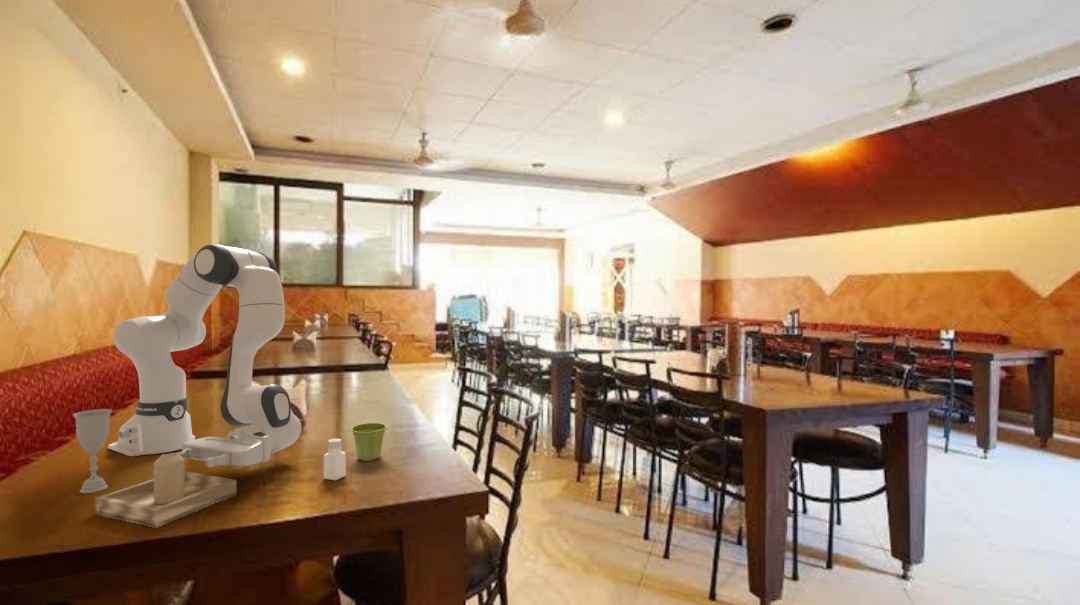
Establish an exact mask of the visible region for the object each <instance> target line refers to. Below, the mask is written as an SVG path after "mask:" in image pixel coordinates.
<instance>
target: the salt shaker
mask: <svg viewBox="0 0 1080 605" xmlns="http://www.w3.org/2000/svg"><path fill="white" fill-rule="evenodd" d="M342 441H343V440H342V439H341V438H330V439H328V440H327V449H328V451H327V452H326V453H325V454H324V455H323V478H324V480H330V481H331V480H332V481H338V480H340V479H342V478H344V477H345V476H346V474H347V472H346V470H347V464H346V463H347V461H346V460H347V459H346V458H347V456H346V455H347V453H346V452H345V451H342V447H343V446H342Z"/></svg>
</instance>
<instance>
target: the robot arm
mask: <svg viewBox="0 0 1080 605" xmlns="http://www.w3.org/2000/svg"><path fill="white" fill-rule="evenodd" d="M223 286H225V287H226V286H227V287H231V288H235V289H236V290H237V292H238V296H239V297H238V299H239V300H238V320H237V326H236V329H235V331H234V333H233V335H232V337H231V340H230V346H229V352H228V353H229V354H228V361H227V362H228V363H227V371H226V382H225V383H226V384H225V387H224V392H223V395H222V398H221V401H220V413H221V415H222V418H223V420H225V421H226V423H228V424H229V425H231V426H233V427H236V428H234V429H232V430H230V431H229V432H228V433H227V435H226V437H218V436H206V437H200V438H197V439H196V435H194V434H193V431H192V430H193V429H192V421H191V414H190V413H189V412H188V411H187V410H188V409H189V401H188V397H187V383H186V382H187V375H186V372H185V370H184V369H183V368H182V367H180V366H178V365H176V364H175V362H174V360H173V359H172V355H171V352H178V351H186V350H188V349H190V348H193V347H197V346H199V345H201V344H202V343H203V341H204V340H205V338H206V335H207V327H206V324H205V323H204V321H203V319H204V316H205V313H206V311H207V310H208V308H209V306H210V305H211V303H212V302H213V301H214V299H215V298H216V297H217V295H218V293H219V292H220V291H221V289H222V287H223ZM283 289H284V288H283V285H282V281H281V277H280V274H279V273H278V267H277V263H276V262H275V260H274V259H273V258H272V257H271V256H268V255H267V254H265V253H262V252H257V251H254V250H251V249H247V248H243V247H234V246H227V245H223V244H214V243H213V244H207V245H204V246H202V247H201V248H200V249H199V250H198V251H197V252H195V254H194V255H193V256H191V258H189V259H188V261H187V262H186V263H185V264H184V265H183V267H182V268H181V269H180V270H179V272H178V273H177V275H176V276H175V278H174V279H173V281H172V282H171V283H170V285H169V286H168V288H167V289H166V291H165V292H164V296H163V298H164V300H165V304H166V305H167V307H168V309H167V311H166V312H164V313H163V314H161V315H143V316H138V317H133V318H130V319H129V318H128V319H126V320H123V321H121V322H119V323H118V324H117V326H116V327H115V329H114V332H113V342H114V345H115V347H116V349H118V351H119V352H121V353H123V354H124V355H126V356H127V357H128V358H129V359H130V360H131V361H132V363H133V365H134V366H135V369H136V371H137V376H138V384H139V386H138V388H139V401H138V402H134V403H133V405H134V406H133V407H134V408H136V409H135V410H134V411H135V412H134V415H133V416H132V417H131V418H129V419H128V420H127V421H126V422H124V423H123V424H122V425H121V426H120V428H119V430H118V440H117V441H115V442H112V443H110V444H108V447H107V449H108V450H112V451H114V452H117V453H120V454H122V455H124V456H127V457H136V456H138V457H139V456H143V455H155V454H165V453H171V452H174V451H179V450H181V451H180V452H177V453H178V454H179V455H180V456H182V457H183V458H184V462H186V461H187V459H191V460H194V461H195V460H197V461H203V467H205V468H212V467H216V466H218V467H219V466H223V465H224V466H225V465H226V466H233V467H237V468H243V467H244V468H245V467H249V466H250V467H251V466H253V465H256V464H259V463H267V462H269V461H270V459H271V454H274V453H276V452H278V451H282V450H284V449H286V448H288V447H290V446H291V445H293V444H294V443H295V442H296V441H297V440H298V439H299V438H300V435H302V434H301V433H302V422H301V420H300V418H298V416H296V415H295V414H294V412H293V410H292V408H291V407H292V406H291V398H290V395H289V393H288V392H287V389H285V388H284V387H283V386H281V385H280V384H276V383H273V384H265V385H259V386H252V378H253V371H254V370H253V367H254V361H255V360H254V358H255V357H256V354H257V352H258V350H260V349H261V347H263V346H264V345H265V344H267V343H269V341H272V339H274V338H275V337H277V336H278V334H280V333H281V331H282V330H283V328H284V325H285V323H286V322H285V321H286V309H285V308H286V306H285V305H286V304H285V296H284V290H283Z"/></svg>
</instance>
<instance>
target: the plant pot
mask: <svg viewBox="0 0 1080 605" xmlns="http://www.w3.org/2000/svg"><path fill="white" fill-rule="evenodd" d="M387 428H388V427H387V425H386V424H385V423H381V422H380V423H379V422H368V423H360V424H357V425H354V426H352V427H351V428H350V430H351V431H352V434H353V436H354V437H353V438H354V443H355V449H356V456H357V460H361V461H363V462H369V461H371V462H372V461H375V460H376V459H380V458H381V455H382V449H383V448H382V447H383V441H384V435H385V431H386V430H387Z"/></svg>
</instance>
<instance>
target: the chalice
mask: <svg viewBox="0 0 1080 605" xmlns="http://www.w3.org/2000/svg"><path fill="white" fill-rule="evenodd" d="M112 411H113V409H111V408H99V409H98V408H97V409H89V410H82V411H79V412H75V413H73V414H72V416H73V418H74V419H75V437H76V438H77V440H78V443H79V444H80V445H81V447H82V449H83V450H84V451H85V453H89V454H90V459H89V461H88V462H89V463H90V468H88V471H90V477H89V478H87V479H85V480H84V482H83V484H82V486H81V489H80V490H79V493H81V494H92V493H96V492H99V491H100V492H101V491H104V490H106V489H108V487H109V485H108V484H107V482H106V481H105V479H104V478H103V477H101V476H99V475H98V474H97V470H98V469H99V467H98V465H97V462H98V460H99V459H98V457H97V453H98V451H101V450H102V449H103V447H104V445H105V443H106V441H107V440H108V436H109V435H110V431H111V430H110V429H111V426H110V420H111V419H110V416H111V414H112Z"/></svg>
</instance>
